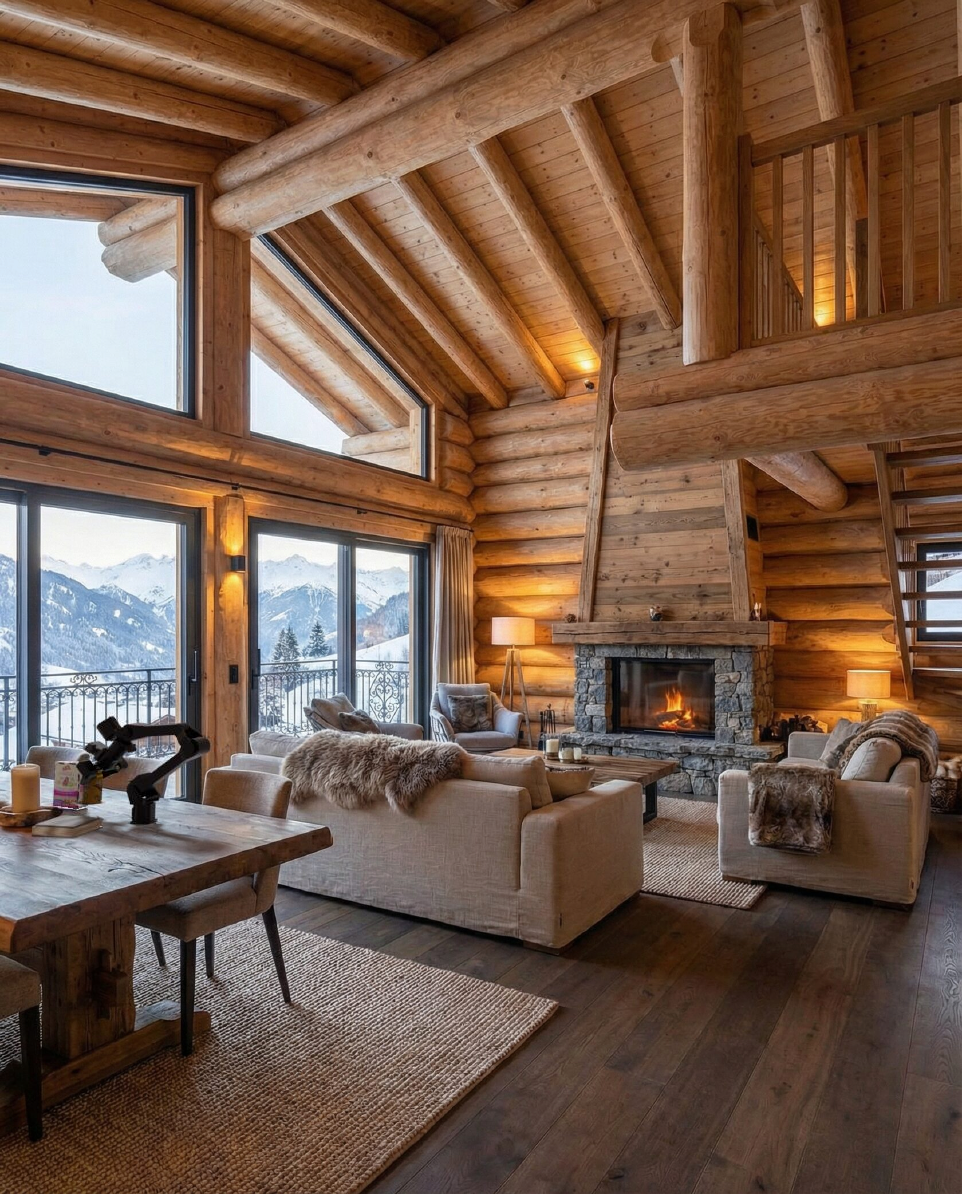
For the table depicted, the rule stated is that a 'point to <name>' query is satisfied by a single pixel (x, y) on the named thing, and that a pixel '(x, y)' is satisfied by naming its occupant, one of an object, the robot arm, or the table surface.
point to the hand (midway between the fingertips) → (87, 782)
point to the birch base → (67, 826)
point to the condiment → (92, 792)
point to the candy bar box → (67, 785)
